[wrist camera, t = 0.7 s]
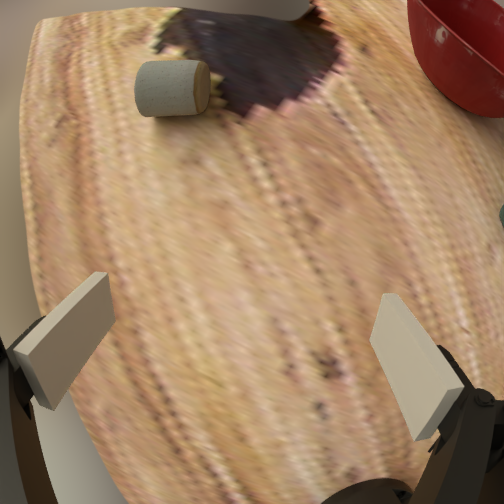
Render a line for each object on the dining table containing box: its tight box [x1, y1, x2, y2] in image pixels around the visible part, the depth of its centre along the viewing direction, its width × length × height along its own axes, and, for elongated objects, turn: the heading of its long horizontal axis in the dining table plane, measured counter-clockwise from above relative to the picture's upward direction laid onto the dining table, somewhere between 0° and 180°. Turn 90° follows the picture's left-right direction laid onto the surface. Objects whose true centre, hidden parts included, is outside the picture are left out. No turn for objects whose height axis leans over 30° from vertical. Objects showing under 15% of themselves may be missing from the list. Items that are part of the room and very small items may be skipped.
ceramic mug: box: [134, 60, 211, 117], centre depth 32 cm, size 11×8×8 cm
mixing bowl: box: [407, 0, 504, 118], centre depth 28 cm, size 28×28×15 cm
